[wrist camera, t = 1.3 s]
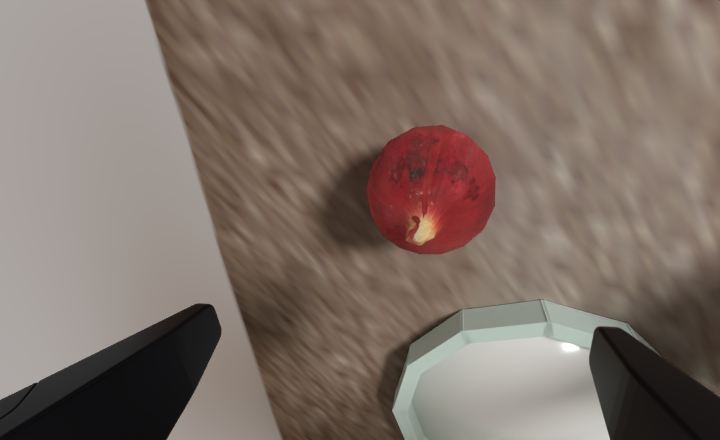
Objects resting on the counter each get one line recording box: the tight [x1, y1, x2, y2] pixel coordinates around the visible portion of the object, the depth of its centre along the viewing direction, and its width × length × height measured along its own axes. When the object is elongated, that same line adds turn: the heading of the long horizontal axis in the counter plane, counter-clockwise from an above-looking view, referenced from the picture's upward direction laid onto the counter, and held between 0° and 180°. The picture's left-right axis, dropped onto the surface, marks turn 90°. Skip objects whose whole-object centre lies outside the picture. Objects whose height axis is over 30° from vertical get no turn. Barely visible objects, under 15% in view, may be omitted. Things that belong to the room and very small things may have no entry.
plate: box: [392, 299, 661, 440], centre depth 25 cm, size 18×18×2 cm
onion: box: [367, 125, 496, 254], centre depth 16 cm, size 6×6×8 cm
